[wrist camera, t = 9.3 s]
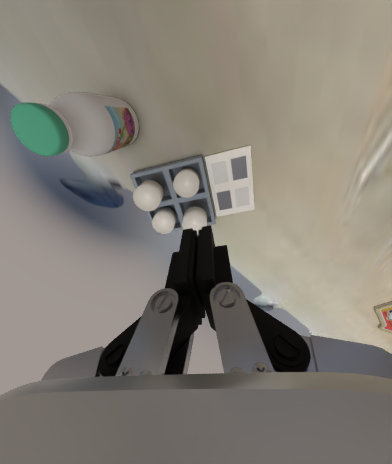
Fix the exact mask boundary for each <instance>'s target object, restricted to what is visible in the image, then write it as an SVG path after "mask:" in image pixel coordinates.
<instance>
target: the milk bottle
mask: <svg viewBox="0 0 392 464" xmlns="http://www.w3.org/2000/svg"><path fill="white" fill-rule="evenodd" d="M11 124H12V127H13V130H14V132H15V134H16V135H17V137H18V138H19V140H20V141H21V142H22V143H23V144H24V145H25V146H26V147H27V148H28V149H30V150H31V151H33V152H35V153H37V154H40V155H43V156H54V155H58V154H61V153H65V152H67V151H68V150H69V151H71V152H74V153H76V154H79V155H84V156H98V155H102V154H106V153H109V152H111V151H114V150H117V149H120V148H122V147H125V146H127V145H129V144H131V143H133V142H134V141H135V139H136V138H137V135H138V132H139V123H138V119H137V116H136V114H135V112H134V110H133V109H132V108H131V106H130V105H129V104H127V103H126V102H125V101H123V100H121V99H118V98H114V97H109V96H104V95H98V94H92V93H85V92H68V93H64V94H61V95H59V96H58V97H56V98H55V99H54V100H53V101H52V102H51V103H50V104H49V105H46V104H41V103H38V104H37V103H21V104H18V105H16V106H15V107H14V108H13V109H12V112H11Z"/></svg>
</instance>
